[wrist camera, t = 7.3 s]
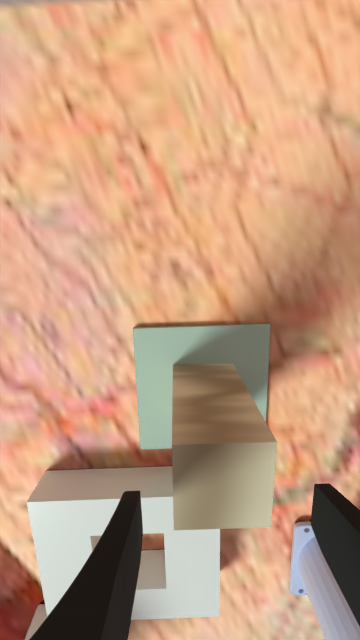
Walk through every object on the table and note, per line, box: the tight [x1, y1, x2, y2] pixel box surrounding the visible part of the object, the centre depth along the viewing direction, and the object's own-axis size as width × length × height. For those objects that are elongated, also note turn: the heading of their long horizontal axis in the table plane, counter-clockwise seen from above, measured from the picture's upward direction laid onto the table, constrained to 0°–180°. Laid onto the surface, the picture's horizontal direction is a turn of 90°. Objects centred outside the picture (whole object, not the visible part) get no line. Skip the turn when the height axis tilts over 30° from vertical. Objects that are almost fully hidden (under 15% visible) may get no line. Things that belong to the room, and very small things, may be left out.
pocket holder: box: [27, 466, 220, 620], centre depth 23 cm, size 14×12×3 cm
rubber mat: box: [133, 323, 271, 450], centre depth 21 cm, size 10×10×1 cm
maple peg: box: [172, 363, 277, 530], centre depth 17 cm, size 4×4×9 cm
